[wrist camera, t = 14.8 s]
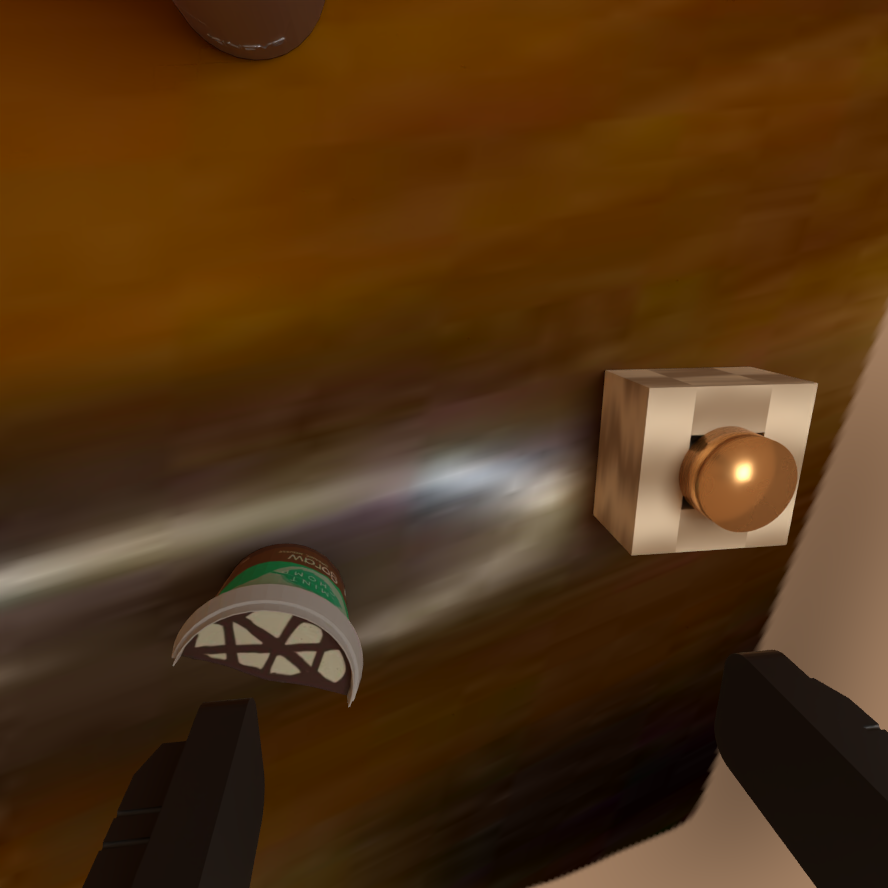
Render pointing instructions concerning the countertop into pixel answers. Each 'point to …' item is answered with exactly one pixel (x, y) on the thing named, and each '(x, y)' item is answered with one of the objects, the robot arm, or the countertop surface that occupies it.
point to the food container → (279, 622)
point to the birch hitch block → (667, 441)
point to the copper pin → (738, 478)
